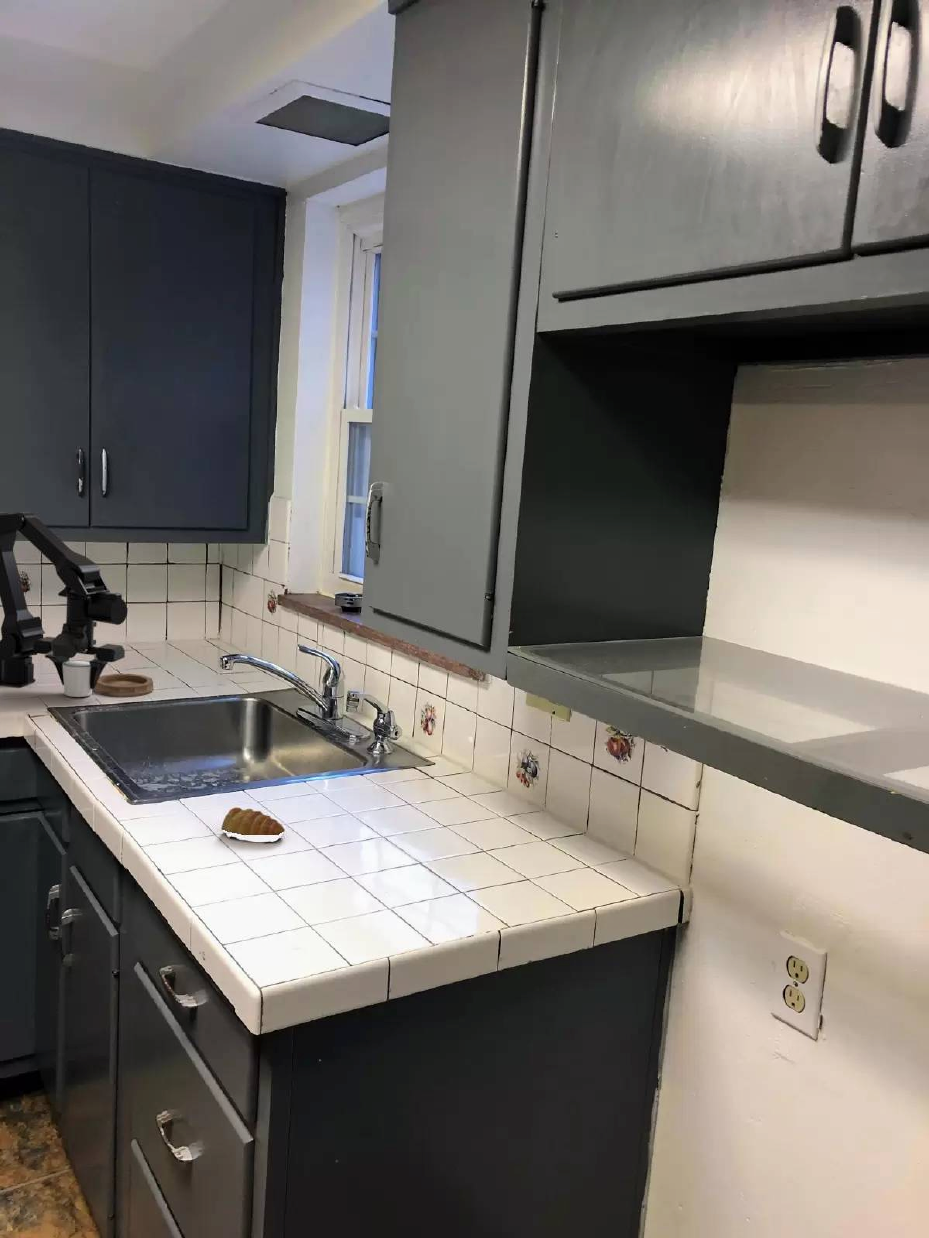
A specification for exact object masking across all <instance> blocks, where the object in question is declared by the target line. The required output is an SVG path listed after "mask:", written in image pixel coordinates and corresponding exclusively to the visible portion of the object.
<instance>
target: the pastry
mask: <svg viewBox="0 0 929 1238" xmlns="http://www.w3.org/2000/svg"><path fill="white" fill-rule="evenodd" d="M220 829H222V830H225V831H227V832H232V833H237V834H241V835H279V834H280V833H282V832H284V833H285V828H284V826H283V825H282V824H281V823H280V822H279V821H278V820H277V819H274V818H272V817H271V816H270V815H267V814H266V815H265V814H264V813H263V812H261V810H254V809H252V808H246V809H242V808H240V807H236V806H235V807H233V808H232V809H230V810H229V811H228V813H227V814H226V815H225V817H224V819H223V821H222V825H221V828H220ZM222 830H221V831H222Z"/></svg>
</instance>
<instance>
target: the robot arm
mask: <svg viewBox="0 0 929 1238" xmlns="http://www.w3.org/2000/svg"><path fill="white" fill-rule="evenodd" d="M17 532H19V533H20V534H21V535H22V536H23V537H24V538H26V539H27V540H28V541H29V542H30V543H31V545H33V546H34V547H35V548H36V550H38V551H39V552H40V553H41V554H42V555H43V556H44V557H46V559H47V560H48V561H50V562H51V564H52V565H53V567H54V568H55V572H56V576H58V578H59V579H60V580H61V582H62V583H63V585H64V586H65V587H64V588H63V589H62V590H60V591H59V592H58V593H57V595H58V597H63V598H66V613H65V615H66V617H65V620H66V621H65V622H64V623H62V627H61V629H62V630H61V633H59V634H57V636H54V637H53V636H45V637H44V634H46V632H45V630H44V628H43V624H42V619H41V617H40V616H39V615H38V616H34V615H33V614H32V613H31V612H30V611H29V609H28V608H29V607H28V604H27V601H26V597H25V593H24V589H23V584H22V581H21V577H20V573H19V570H18V569H19V568H18V564H17V560H16V558H15V552H14V547H15V543H16V540H17V537H18V534H17ZM100 571H101V569H100V567H99V566H98V564H97V563H96V562H94V561H93V560H91V559H90V558H88V557H86V556H85V555H83V554H80V553H77V552H75V551H73V550H72V549H71V548H70V547H68V546H67V545H66V543H64V542H63V541H62V539H60V538H59V537H58V536H57V534H55V533H54V532H53V531H51V529H49V528H48V527H47V526H46V524H45V523H43V522H42V521H41V519H39V516H38V515H37V514H36V513H33V512H31V511H23V512H22V511H21V512H20V511H19V512H15V513H8V512H7V511H0V601H1V607H2V610H3V614H4V616H3V621H2V624H1V627H0V632H1V639H0V685H2V686H10V687H18V688H19V687H20V688H22V687H24V685H25V686H27V685H29V684H31V683H34V682H36V678H34V675H35V674H34V673H35V670H34V669H35V665H34V664H35V663H33V656H37V655H38V654H39V655H44V657H45V659H49V661H51V662H52V663H53V665H54V667H55V668H56V672H57V674H58V677H59V679H60V683H61V684H62V686H63V687H64V679H63V665H62V663H63V662H66V661H70V659H73V658H74V657H75V656H76V655H77V654H81V655H91V656H93V659H91V660H88V661H89V663H90V665H91V676H90V689H92V690H94V687H95V685H96V683H97V681H98V679H99V677H101V676H102V673H103V670H104V669H105V667H106V665H107V664H108V663H115V662H117V661H119V660H122V659H124V658H125V657H126V656H125V653H126V652H125V651H126V650H125V648H124V647H123V645H120V644H113V643H107V644H106V643H105V644H103V645H101V646H95V645H96V644H97V639H94V630H95V629H94V628H95V627H97V622H99V623H105V624H111V625H116V626H120V625H121V624H123V623H124V622H125V620H126V619H127V617H128V611H129V609H128V605H127V603H126V601H125V600H124V599H123V595H122V592H121V593H120V592H119V593H118V592H115V593H114V592H113V593H112V592H111V591H110V588H109V587H108V584H107V583H106V581H105V579H104V578H103V576H102V574H101V572H100ZM26 684H27V685H26Z"/></svg>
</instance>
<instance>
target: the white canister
mask: <svg viewBox="0 0 929 1238" xmlns="http://www.w3.org/2000/svg"><path fill="white" fill-rule="evenodd" d="M89 661H90V660H85V659H83V660H82V659H81V660H80V659H76V660H75V659H74V660H69V661H66V662H63V663H62V665H63V679H64V686H63V691H64V695H65V696H68V697H72V698H73V697H75V698H81V697H82V698H83V697H88V696H91V695H92V693H93V689H90V676H91V665H90V663H89Z"/></svg>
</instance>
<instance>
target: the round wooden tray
mask: <svg viewBox="0 0 929 1238" xmlns="http://www.w3.org/2000/svg"><path fill="white" fill-rule="evenodd" d="M154 687H155V686H154V681H153V678H152V677H150V676H146V675H142V674H135V673H112V674H111V673H110V674H106V675H105V674H104V675H100V677H99V679H98V681H97V683H96V685H95V687H94V688H93V690H94V692H96V693H97V694H99V693H100V694H99V695H102V696H107V695H109V696H108V697H117V698H119V697H121V698H128V697H129V698H130V697H141V696H147V695H149V694H151V693H153V692H154ZM152 691H153V692H152Z"/></svg>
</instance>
